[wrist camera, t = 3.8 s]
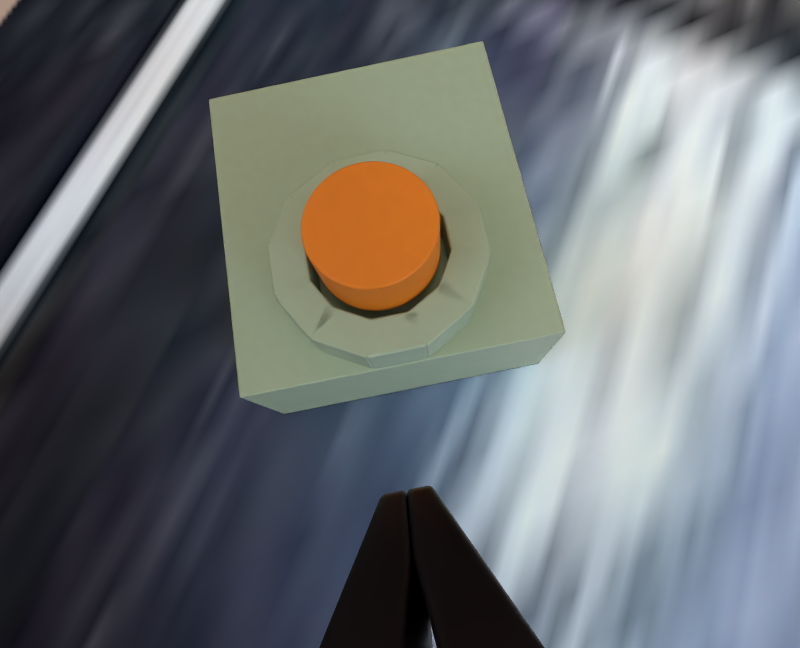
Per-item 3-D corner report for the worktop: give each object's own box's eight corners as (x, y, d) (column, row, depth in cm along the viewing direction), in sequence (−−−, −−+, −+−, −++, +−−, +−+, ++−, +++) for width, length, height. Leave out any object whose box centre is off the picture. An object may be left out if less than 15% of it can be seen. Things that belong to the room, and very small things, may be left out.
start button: (452, 297, 17) (453, 272, 15) (326, 322, 17) (310, 301, 15) (426, 185, 18) (424, 147, 16) (309, 209, 18) (291, 175, 16)
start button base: (538, 363, 23) (579, 317, 16) (283, 414, 23) (217, 389, 16) (475, 123, 26) (486, 0, 19) (253, 170, 26) (187, 65, 19)
